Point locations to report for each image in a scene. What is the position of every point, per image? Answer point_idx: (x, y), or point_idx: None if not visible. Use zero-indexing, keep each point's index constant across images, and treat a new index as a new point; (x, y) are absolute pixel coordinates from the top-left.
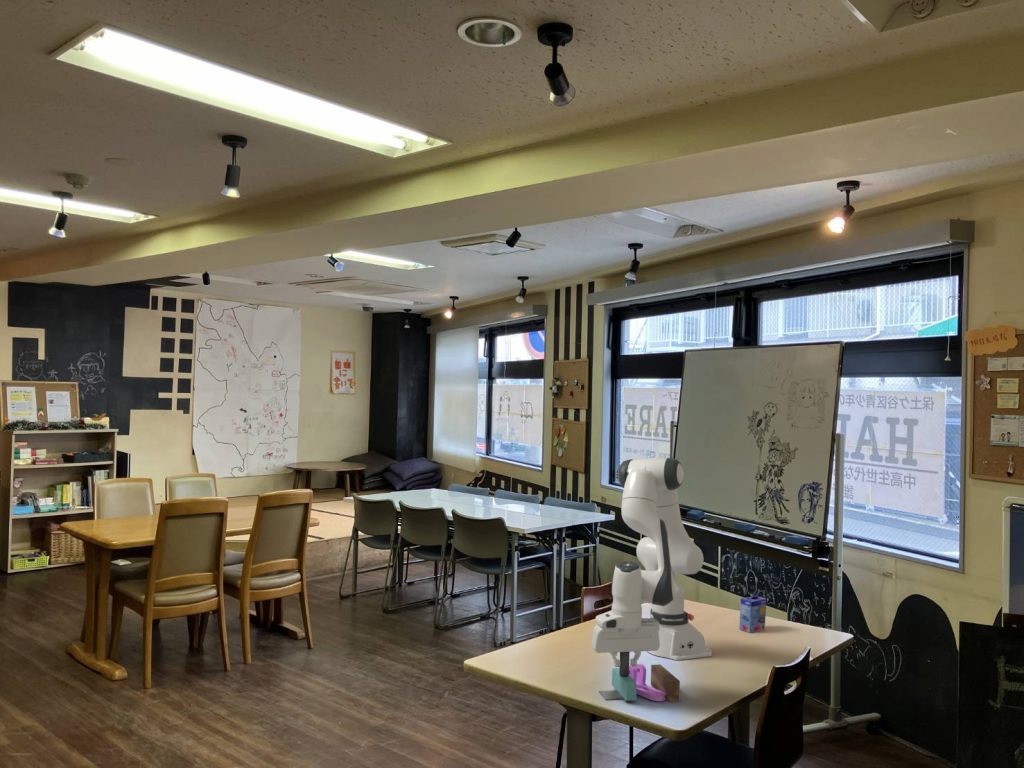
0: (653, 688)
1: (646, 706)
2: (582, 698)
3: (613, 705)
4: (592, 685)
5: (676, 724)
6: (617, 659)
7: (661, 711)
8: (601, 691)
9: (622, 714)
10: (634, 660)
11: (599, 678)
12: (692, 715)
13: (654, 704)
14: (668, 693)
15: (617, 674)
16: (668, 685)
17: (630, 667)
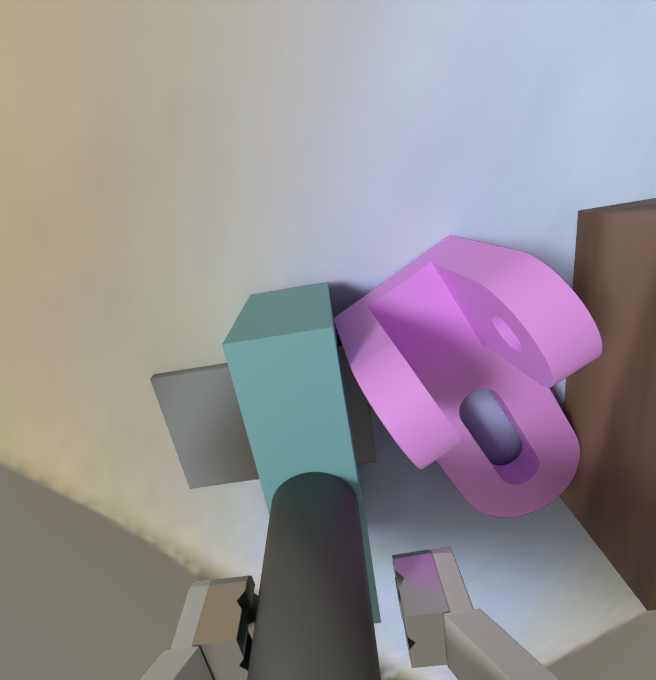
0: (539, 388)
1: (409, 537)
2: (51, 462)
3: (232, 535)
4: (104, 242)
5: None
6: (221, 642)
7: (465, 580)
8: (167, 385)
9: None
10: (444, 659)
11: (164, 58)
12: (593, 607)
13: (462, 515)
14: (586, 514)
15: (260, 469)
16: (621, 555)
17: (407, 452)
